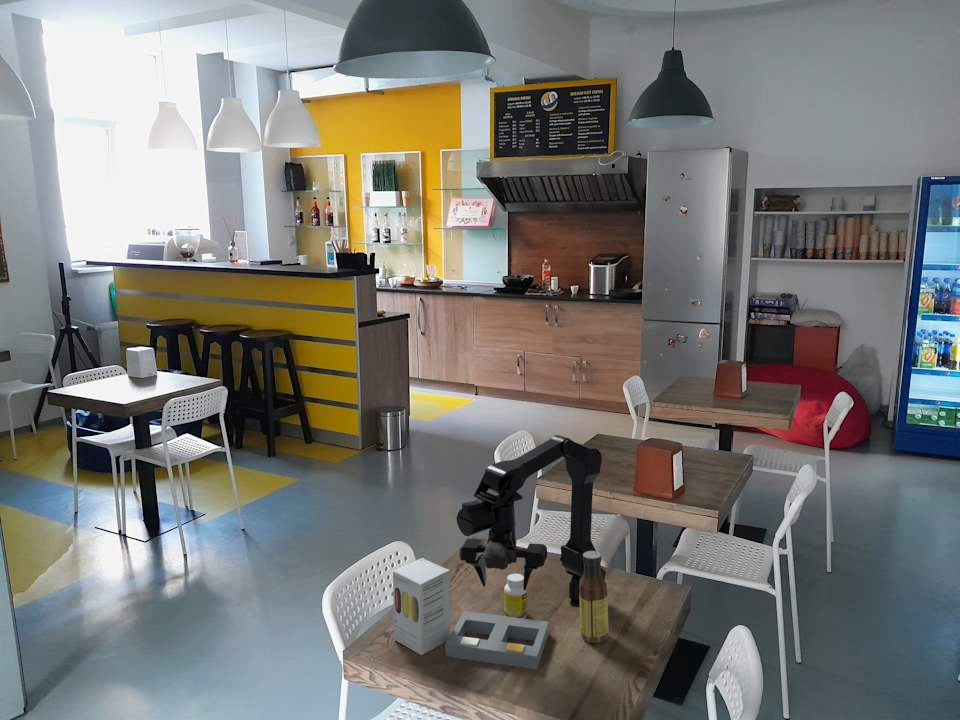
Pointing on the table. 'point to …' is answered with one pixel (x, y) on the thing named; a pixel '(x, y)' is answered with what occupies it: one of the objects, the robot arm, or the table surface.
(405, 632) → the supplement box
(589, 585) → the sauce bottle
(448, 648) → the socket board
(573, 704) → the table surface
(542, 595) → the table surface
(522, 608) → the supplement bottle
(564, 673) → the table surface
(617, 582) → the table surface
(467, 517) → the robot arm
